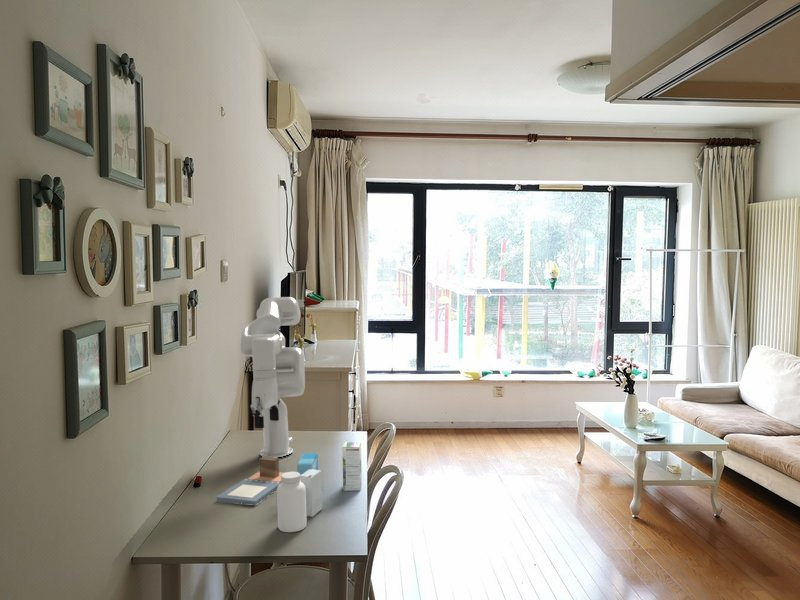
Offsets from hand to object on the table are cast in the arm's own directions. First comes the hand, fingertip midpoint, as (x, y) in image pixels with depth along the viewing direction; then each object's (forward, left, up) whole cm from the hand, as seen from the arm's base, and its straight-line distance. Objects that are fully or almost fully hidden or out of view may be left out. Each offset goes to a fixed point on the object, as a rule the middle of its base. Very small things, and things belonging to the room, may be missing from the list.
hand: (267, 424), depth 205 cm
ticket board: (+12, 0, -20) cm, 23 cm away
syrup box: (-1, +30, -20) cm, 36 cm away
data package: (+8, +19, -20) cm, 29 cm away
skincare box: (+20, +26, -20) cm, 38 cm away
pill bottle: (+30, +25, -20) cm, 44 cm away
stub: (0, 0, -20) cm, 20 cm away
